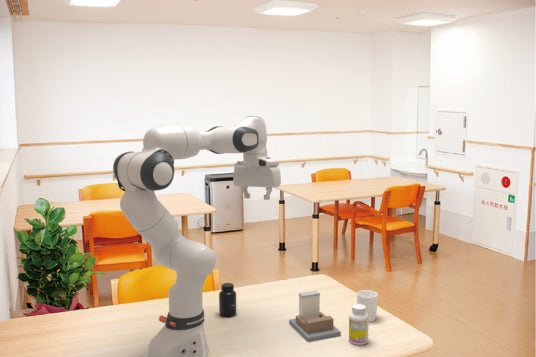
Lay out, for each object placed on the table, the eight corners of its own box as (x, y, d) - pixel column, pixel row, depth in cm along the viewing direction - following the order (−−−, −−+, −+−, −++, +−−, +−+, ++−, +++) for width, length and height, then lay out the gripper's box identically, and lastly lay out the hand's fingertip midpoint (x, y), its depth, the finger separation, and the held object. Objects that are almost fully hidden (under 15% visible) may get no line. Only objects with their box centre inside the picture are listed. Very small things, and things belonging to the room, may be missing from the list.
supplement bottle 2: (355, 335, 192) (355, 301, 190) (371, 340, 187) (372, 305, 185) (345, 342, 186) (345, 307, 184) (362, 347, 182) (362, 311, 180)
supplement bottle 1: (236, 317, 208) (235, 287, 206) (218, 317, 208) (217, 288, 206) (237, 310, 215) (236, 281, 213) (220, 310, 215) (219, 281, 213)
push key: (319, 320, 200) (320, 293, 199) (302, 323, 198) (302, 296, 196) (316, 317, 203) (316, 290, 202) (298, 320, 201) (298, 293, 199)
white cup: (353, 320, 204) (354, 295, 203) (360, 312, 211) (360, 288, 209) (373, 324, 200) (374, 298, 199) (379, 316, 207) (380, 291, 206)
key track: (340, 335, 191) (340, 321, 191) (307, 341, 187) (307, 327, 186) (320, 318, 207) (320, 304, 206) (289, 323, 202) (289, 309, 201)
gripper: (228, 161, 199) (230, 198, 200) (271, 161, 186) (273, 201, 187) (240, 160, 204) (241, 196, 205) (282, 160, 191) (284, 199, 192)
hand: (256, 199), depth 196 cm, fingers open, 8 cm apart
